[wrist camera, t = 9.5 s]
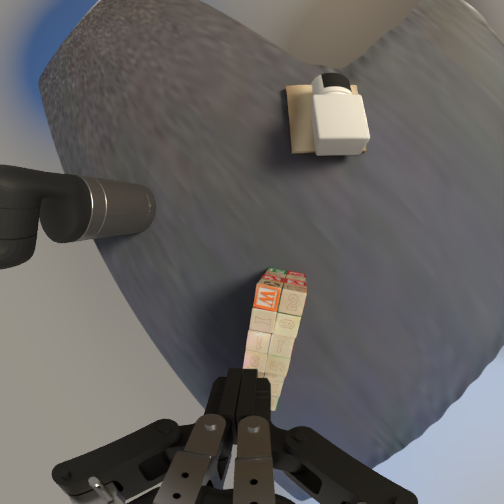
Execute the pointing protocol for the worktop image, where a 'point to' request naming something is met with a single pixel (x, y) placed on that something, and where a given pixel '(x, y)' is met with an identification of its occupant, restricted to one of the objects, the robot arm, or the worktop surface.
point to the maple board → (303, 117)
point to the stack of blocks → (275, 326)
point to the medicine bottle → (337, 117)
